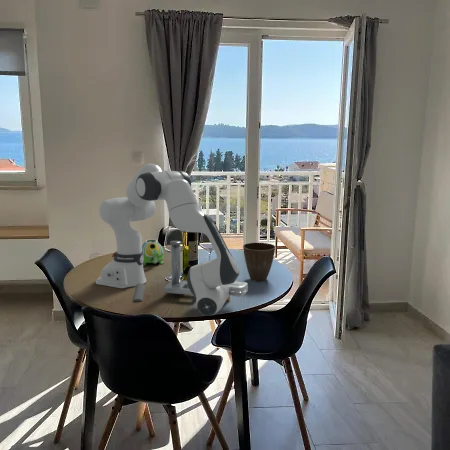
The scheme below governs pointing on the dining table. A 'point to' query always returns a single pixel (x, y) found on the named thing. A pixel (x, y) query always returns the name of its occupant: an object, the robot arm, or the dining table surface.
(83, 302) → the dining table surface
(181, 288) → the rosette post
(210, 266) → the robot arm
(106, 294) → the dining table surface
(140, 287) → the gray half cylinder
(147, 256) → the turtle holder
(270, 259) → the plant pot
